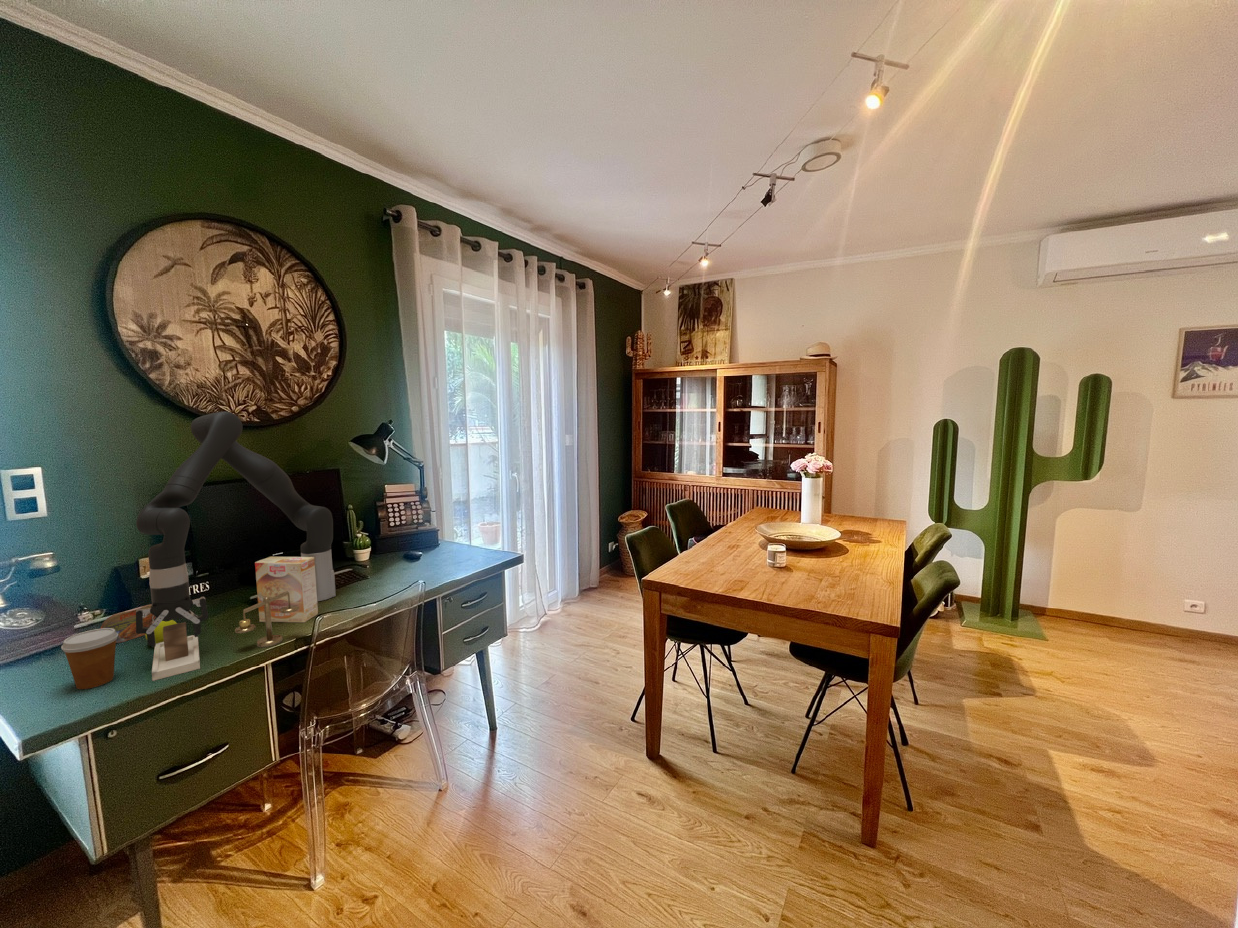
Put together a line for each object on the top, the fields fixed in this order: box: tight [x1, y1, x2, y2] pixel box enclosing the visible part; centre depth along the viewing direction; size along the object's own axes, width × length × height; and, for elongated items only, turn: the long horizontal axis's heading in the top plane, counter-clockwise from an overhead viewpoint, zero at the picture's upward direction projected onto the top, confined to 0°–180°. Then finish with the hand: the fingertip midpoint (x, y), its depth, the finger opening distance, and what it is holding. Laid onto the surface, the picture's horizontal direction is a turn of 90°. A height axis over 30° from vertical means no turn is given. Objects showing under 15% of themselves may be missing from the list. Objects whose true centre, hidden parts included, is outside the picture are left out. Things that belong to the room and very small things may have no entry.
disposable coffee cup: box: [60, 628, 118, 690], centre depth 121 cm, size 10×10×12 cm
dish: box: [151, 634, 201, 682], centre depth 133 cm, size 9×21×2 cm, turn 41°
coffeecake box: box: [254, 555, 319, 623], centre depth 158 cm, size 15×7×20 cm, turn 87°
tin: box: [100, 603, 155, 644], centre depth 147 cm, size 15×3×8 cm, turn 153°
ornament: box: [144, 619, 178, 643], centre depth 141 cm, size 7×7×10 cm
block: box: [163, 621, 188, 661], centre depth 132 cm, size 4×4×8 cm
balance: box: [234, 591, 299, 649], centre depth 141 cm, size 15×6×14 cm, turn 131°
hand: (175, 640), depth 132 cm, fingers open, 8 cm apart
